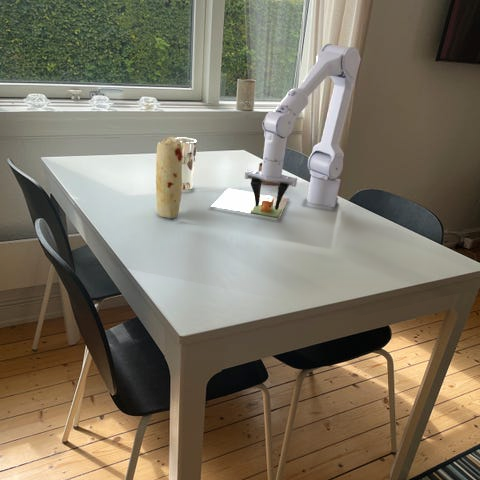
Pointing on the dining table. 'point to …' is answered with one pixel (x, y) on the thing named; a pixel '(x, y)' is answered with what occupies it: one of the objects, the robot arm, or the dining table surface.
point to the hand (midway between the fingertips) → (266, 207)
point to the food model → (169, 177)
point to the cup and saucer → (266, 181)
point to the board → (244, 201)
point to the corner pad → (273, 212)
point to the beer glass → (188, 161)
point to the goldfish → (267, 204)
